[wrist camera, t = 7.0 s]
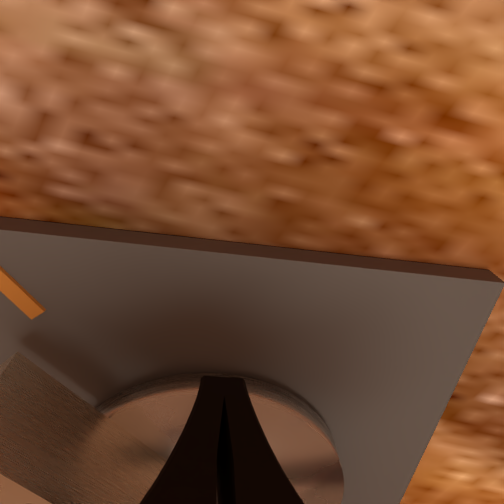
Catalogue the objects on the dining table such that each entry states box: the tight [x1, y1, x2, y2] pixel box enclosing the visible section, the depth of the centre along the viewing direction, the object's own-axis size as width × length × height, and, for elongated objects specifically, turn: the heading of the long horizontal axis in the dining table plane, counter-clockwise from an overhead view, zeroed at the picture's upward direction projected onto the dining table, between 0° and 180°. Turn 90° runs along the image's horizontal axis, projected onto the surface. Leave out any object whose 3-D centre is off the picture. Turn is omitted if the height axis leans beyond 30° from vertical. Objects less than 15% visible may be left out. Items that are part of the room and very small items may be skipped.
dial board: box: [0, 217, 504, 504], centre depth 18 cm, size 19×21×1 cm
